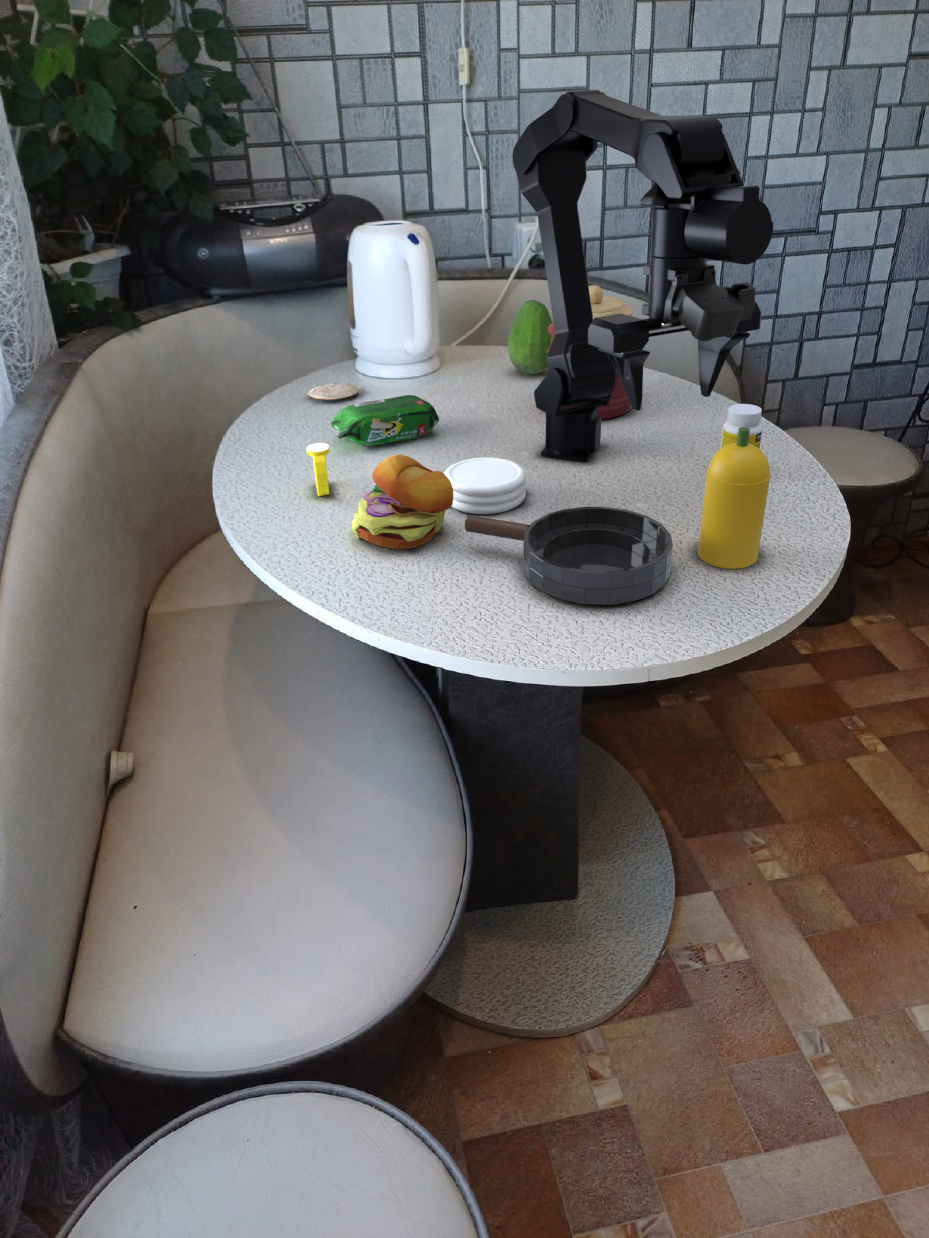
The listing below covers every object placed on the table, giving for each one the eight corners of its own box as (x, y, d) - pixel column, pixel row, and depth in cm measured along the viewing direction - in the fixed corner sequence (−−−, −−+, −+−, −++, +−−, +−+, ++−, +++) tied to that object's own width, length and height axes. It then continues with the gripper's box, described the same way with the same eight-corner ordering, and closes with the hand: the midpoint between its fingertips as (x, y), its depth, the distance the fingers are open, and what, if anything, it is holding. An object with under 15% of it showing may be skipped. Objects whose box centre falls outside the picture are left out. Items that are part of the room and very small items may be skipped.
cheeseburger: (350, 516, 110) (364, 437, 106) (438, 530, 112) (456, 453, 107) (348, 555, 102) (363, 470, 97) (444, 569, 104) (463, 487, 99)
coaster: (514, 519, 109) (514, 492, 107) (433, 511, 111) (431, 484, 109) (534, 486, 117) (534, 459, 115) (458, 478, 119) (457, 452, 118)
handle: (464, 534, 101) (464, 519, 100) (471, 527, 102) (470, 512, 101) (525, 544, 98) (525, 529, 97) (531, 537, 100) (531, 521, 99)
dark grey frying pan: (502, 592, 94) (501, 557, 92) (551, 530, 106) (552, 498, 104) (648, 620, 89) (651, 584, 87) (683, 552, 101) (686, 518, 99)
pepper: (692, 563, 99) (706, 435, 91) (704, 538, 103) (718, 415, 96) (752, 573, 96) (771, 443, 89) (761, 547, 101) (781, 422, 94)
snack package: (325, 440, 132) (321, 405, 130) (427, 421, 138) (425, 386, 135) (341, 457, 127) (337, 421, 124) (447, 436, 132) (445, 401, 130)
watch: (310, 483, 120) (304, 439, 116) (332, 481, 120) (327, 436, 117) (313, 502, 115) (307, 456, 111) (335, 499, 115) (330, 454, 112)
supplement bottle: (756, 481, 116) (766, 416, 111) (717, 479, 117) (725, 414, 112) (754, 466, 120) (763, 403, 115) (716, 464, 121) (724, 401, 116)
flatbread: (350, 384, 153) (349, 378, 153) (365, 397, 148) (364, 391, 147) (302, 392, 151) (301, 386, 150) (315, 406, 145) (314, 399, 144)
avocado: (542, 383, 151) (543, 307, 145) (500, 377, 155) (499, 302, 149) (563, 369, 157) (565, 296, 151) (522, 364, 161) (522, 292, 154)
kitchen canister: (531, 413, 139) (531, 291, 130) (569, 388, 149) (573, 272, 139) (611, 427, 133) (618, 300, 124) (646, 400, 143) (655, 280, 133)
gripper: (646, 274, 87) (641, 436, 95) (804, 252, 93) (787, 406, 101) (585, 261, 96) (584, 410, 104) (733, 242, 102) (722, 383, 110)
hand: (671, 403), depth 104 cm, fingers open, 9 cm apart
